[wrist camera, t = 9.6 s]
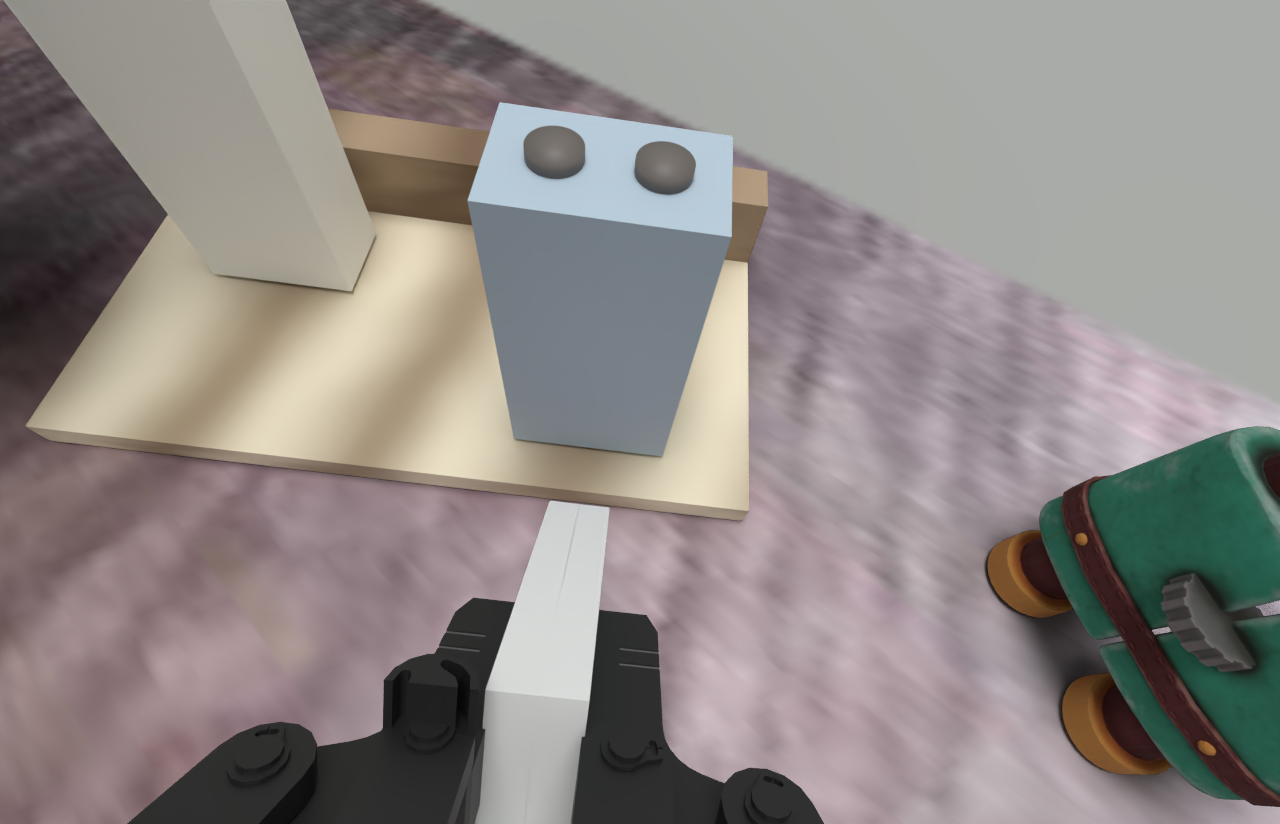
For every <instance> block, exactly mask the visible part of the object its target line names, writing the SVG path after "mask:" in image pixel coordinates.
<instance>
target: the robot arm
mask: <svg viewBox="0 0 1280 824" xmlns="http://www.w3.org/2000/svg"><path fill="white" fill-rule="evenodd" d="M608 518H609V508H608V507H600V506H591V505H583V504H574V503H566V502H558V501H550V502H549V505H548V508H547V511H546V514H545V516H544V519H543V522H542V525H541V528H540V531H539V534H538V537H537V540H536V543H535V546H534V549H533V552H532V555H531V558H530V560H529V563H528V566H527V569H526V572H525V575H524V578H523V581H522V584H521V587H520V590H519V593H518V596H517V599H516V602H507V601H498V600H489V599H480V598H472V599H471V600H470V601H469V602H467V603H466V604H465V605H464V606H462V607H461V608H460V609H459V610H457V611H456V612H455V614H454V616H453V618H452V620H451V622H450V624H449V626H448V628H447V631H446V633H445V634H444V636H443V638H442V640H441V642H440V644H439V648H437V650H436V652H435V654H426V655H423V656H419V657H415V658H412V659H409V660H407V661H406V662H404V663H402V664H400V665H399V666H397V667H395V668H394V669H393V670H392V671H391V673H390V674H389V675H388V676H387V677H386V678H385V679H384V705H383V729H382V731H380V732H378V733H376V734H373V735H371V736H369V737H366V738H362V739H358V740H354V741H350V742H344V743H337V744H331V745H325V746H319V747H317V743H316V741H315V739H314V737H313V735H312V732H310V731H309V730H307V729H305V728H304V727H302V726H300V725H299V724H292V723H285V722H277V723H270V724H264V725H258V726H256V727H253V728H251V729H248V730H246V731H243V732H240V733H238V734H236V735H235V736H233V737H232V738H230V739H229V740H227V741H226V742H224V743H223V744H221V745H220V746H218V747H217V748H216V749H215V750H213V751H212V752H211V753H210V754H209V755H208V756H206V757H205V758H204V759H203V760H202V761H200V762H199V763H198V764H197V765H196V766H195V767H193V768H192V769H191V770H190V771H189V772H188V773H186V774H185V775H184V776H183V777H182V778H180V779H179V780H178V781H177V782H176V783H175V784H173V785H172V786H171V787H170V788H169V789H168V790H166V791H165V792H164V793H163V794H162V795H160V796H159V797H158V798H157V799H156V800H155V801H153V802H152V803H151V804H150V805H149V806H148V807H146V808H145V809H144V810H143V811H142V812H141V813H139V814H138V815H137V816H136V817H135V818H133V819H132V820H131V821H130V822H129V823H128V824H474V823H475V824H824V823H823V821H822V819H821V817H820V816H819V814H818V812H817V810H816V808H815V807H814V805H813V803H812V802H811V801H810V799H809V798H808V797H807V795H806V794H805V793H804V792H803V790H802V789H801V788H800V787H799V786H797V785H796V784H795V783H793V782H792V781H791V780H789V779H788V778H787V777H785V776H783V775H781V774H778V773H776V772H773V771H771V770H768V769H759V768H748V769H745V770H742V771H738V772H735V773H734V774H733V775H732V776H731V777H730V778H729V779H728V780H727V781H726V782H725V784H724V783H722V782H719V781H717V780H714V779H712V778H709V777H707V776H705V775H702V774H700V773H698V772H696V771H694V770H692V769H690V768H689V767H688V766H686V765H685V764H684V763H682V762H681V761H680V760H679V759H678V758H677V757H676V756H675V755H674V753H673V752H672V751H671V750H670V748H669V746H668V744H667V742H666V740H665V737H664V733H663V726H662V707H661V689H660V670H659V655H658V633H657V631H656V629H655V628H654V626H653V625H652V623H651V622H650V620H649V618H648V617H647V615H639V614H630V613H621V612H612V611H603V610H599V604H600V595H601V585H602V575H603V566H604V556H605V546H606V537H607V527H608ZM475 819H476V822H475Z"/></svg>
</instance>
